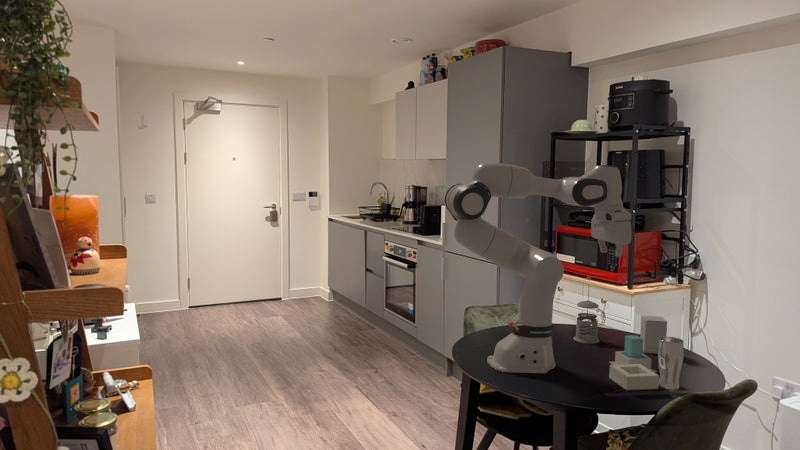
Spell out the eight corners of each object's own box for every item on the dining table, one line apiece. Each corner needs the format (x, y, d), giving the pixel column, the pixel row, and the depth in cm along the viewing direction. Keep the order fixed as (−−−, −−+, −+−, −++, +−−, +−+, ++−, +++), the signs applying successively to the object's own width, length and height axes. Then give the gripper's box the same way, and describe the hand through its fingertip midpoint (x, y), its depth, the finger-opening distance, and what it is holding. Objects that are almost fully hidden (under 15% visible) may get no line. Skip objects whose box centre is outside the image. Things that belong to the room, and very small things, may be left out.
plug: (630, 369, 181) (631, 339, 181) (623, 364, 185) (625, 335, 185) (641, 368, 182) (643, 338, 181) (634, 364, 186) (636, 335, 185)
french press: (570, 335, 222) (572, 273, 219) (599, 336, 221) (602, 274, 219) (576, 343, 212) (579, 278, 210) (607, 343, 211) (611, 278, 209)
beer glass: (673, 383, 171) (676, 336, 170) (686, 392, 164) (689, 343, 163) (651, 383, 171) (654, 336, 170) (662, 392, 164) (665, 343, 163)
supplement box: (665, 356, 198) (667, 321, 196) (643, 354, 199) (645, 320, 198) (660, 350, 205) (662, 316, 204) (639, 348, 206) (640, 315, 205)
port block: (626, 393, 163) (627, 376, 163) (609, 380, 173) (609, 365, 173) (658, 391, 165) (658, 375, 164) (639, 379, 174) (639, 363, 174)
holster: (625, 375, 178) (626, 361, 177) (608, 364, 188) (609, 350, 188) (657, 374, 179) (658, 360, 179) (638, 363, 190) (639, 349, 190)
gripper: (585, 212, 195) (587, 251, 196) (615, 216, 175) (618, 260, 176) (602, 210, 196) (604, 249, 197) (634, 214, 175) (636, 257, 177)
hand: (611, 254), depth 186 cm, fingers open, 8 cm apart
